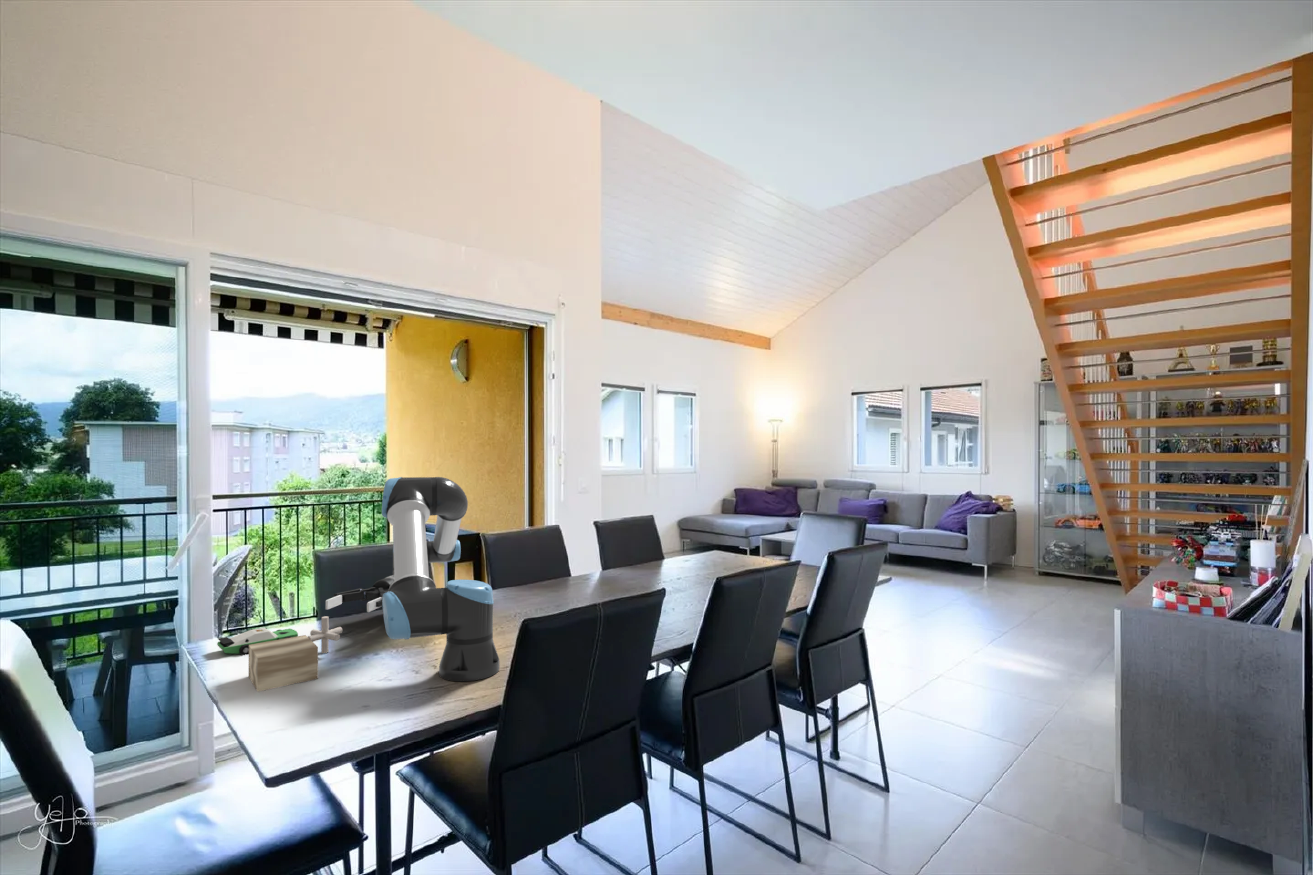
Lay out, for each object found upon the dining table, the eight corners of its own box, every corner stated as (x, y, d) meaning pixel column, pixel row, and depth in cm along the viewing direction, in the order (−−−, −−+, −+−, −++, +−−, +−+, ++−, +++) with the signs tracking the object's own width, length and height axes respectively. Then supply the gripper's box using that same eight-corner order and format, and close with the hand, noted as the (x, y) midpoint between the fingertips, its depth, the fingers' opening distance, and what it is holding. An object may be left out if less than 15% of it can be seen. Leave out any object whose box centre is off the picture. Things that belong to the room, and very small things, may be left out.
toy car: (301, 644, 190) (301, 627, 190) (224, 660, 176) (224, 641, 176) (290, 636, 197) (290, 620, 197) (215, 651, 184) (215, 633, 184)
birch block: (317, 678, 162) (317, 646, 162) (257, 691, 154) (257, 658, 154) (305, 664, 172) (305, 634, 172) (248, 676, 163) (248, 644, 163)
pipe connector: (296, 655, 179) (296, 619, 179) (328, 645, 188) (328, 610, 188) (321, 660, 175) (321, 623, 175) (352, 649, 184) (352, 615, 184)
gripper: (423, 602, 211) (385, 621, 190) (353, 598, 215) (309, 616, 194) (423, 579, 211) (385, 595, 190) (354, 575, 215) (309, 591, 194)
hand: (347, 606), depth 192 cm, fingers open, 13 cm apart
